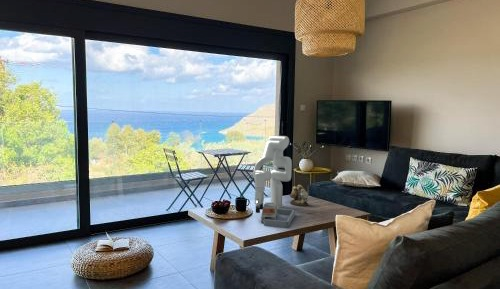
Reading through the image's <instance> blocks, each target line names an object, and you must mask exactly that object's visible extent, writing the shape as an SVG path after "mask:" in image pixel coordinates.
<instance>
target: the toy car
mask: <svg viewBox="0 0 500 289" xmlns="http://www.w3.org/2000/svg"><path fill="white" fill-rule="evenodd" d="M260 215H261V216H260V222H261V224H264V219H268V220H276V218H277V215H278V214H277V205H276V203H271V202H265V201H264V203H263V210H261V214H260Z"/></svg>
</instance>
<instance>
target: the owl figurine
mask: <svg viewBox="0 0 500 289" xmlns="http://www.w3.org/2000/svg"><path fill="white" fill-rule="evenodd" d="M291 189H292V191H291V193H290V194H289V195H288V196H289V197H290V198H291V200H290V202H289V204H290V205H291V206H296V207H308V206H309V203H308V201H309V200H308V198H309V193H308V192H307V191H306V189H305V188H304V187H303V186H302V185H301V184H298V185H297V186H292V188H291Z"/></svg>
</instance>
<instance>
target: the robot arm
mask: <svg viewBox="0 0 500 289" xmlns="http://www.w3.org/2000/svg"><path fill="white" fill-rule="evenodd" d="M289 143H290V139H289V137H288V136H286V135H270V136H268V140H267V141H266V143H265V147H264V150H263V151H264V152H263V154H262V157H261V158H260V159H258V161H257V162H256V163H255V164H254V167H253V172H252V178H253V179H254V192H255V193H254V204H255V214H261V211H262V210H263V207H264V203H265V199H264V198H265V195H264V194H265V192H266V182H267V181H270V187H271V188H270V189H271V190H270V203H276V205H277V208H278V209H284V207H285V205H284V204H283V190H284V188H283V184H282V182H290V181H291V179H292V170H293V168H292V166H293V165H292V164H293V163H292V162H293V161H292V159H291V157H289V156H284V151H285V149H287V148H288V146H289V145H290V144H289ZM268 163H272V167H274V168H273V169H272V170H263V169H260V168H261V167H262V166H264V165H266V164H268Z"/></svg>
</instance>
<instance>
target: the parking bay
mask: <svg viewBox="0 0 500 289" xmlns="http://www.w3.org/2000/svg"><path fill="white" fill-rule="evenodd" d="M277 215H285V216H287V215H288V217H287V219H286V220H279V219H277V220H276V219H275V220H268V219H264V221H263V226H266V227H267V226H269V227H276V228H279V227H280V228H285V229H286V228H287V229H288V228H290V225H291V223H292V221H293V219H294V217H295V216H296V210H295V209H286V208H277Z"/></svg>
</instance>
